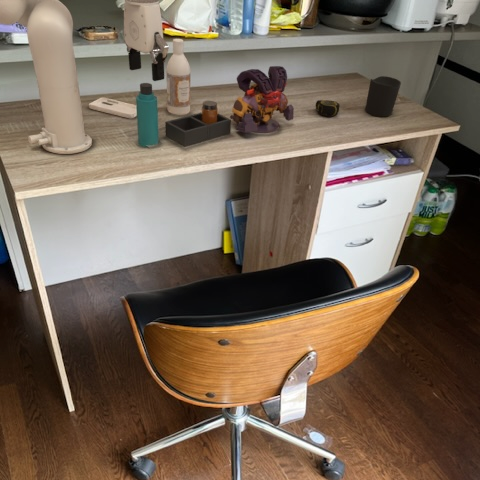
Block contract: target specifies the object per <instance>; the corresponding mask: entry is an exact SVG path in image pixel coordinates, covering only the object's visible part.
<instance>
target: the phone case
mask: <svg viewBox="0 0 480 480" xmlns="http://www.w3.org/2000/svg"><path fill="white" fill-rule="evenodd" d="M88 108H89V109H91V110H94V111H98V112H101V113H106V114H109V115H110V114H111V115H114V116H118V117H121V118H122V117H123V118H126V119H134V118H135V117H136V118H137V109H136V104H133V103H129V102H125V101H121V100H116V99H112V98H108V97H104V96H103V97H99V98H97V99H95V100H94V101H92V102H89V103H88Z"/></svg>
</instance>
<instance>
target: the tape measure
mask: <svg viewBox="0 0 480 480" xmlns="http://www.w3.org/2000/svg"><path fill="white" fill-rule="evenodd" d="M340 106H341V105H340V103H339V102H337V101H335V100H327V99H325V100H323V99H321V100H320V99H318V100H316V103H315V109H316V111H317V112H318V114H319V115H322V116H326V117H334V116H337V115H338V114H339V111H340Z"/></svg>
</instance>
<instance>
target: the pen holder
mask: <svg viewBox="0 0 480 480" xmlns="http://www.w3.org/2000/svg"><path fill="white" fill-rule="evenodd" d="M401 84H402V82H401V81H400V80H399V79H398V78H394V77H391V76H387V75H386V76H385V75H381V76H378V77H375V78H374V79H373V78H371V79H370V81H369V86H368V92H367V96H366V103H365V109H364V110H365V112H366V113H367V115H370V116H373V117H377V118H388V117H390V116H392V114H393V111H394V109H395V108H394V107H395V105H396V101H397V98H398V95H399V92H400V88H401Z"/></svg>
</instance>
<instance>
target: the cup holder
mask: <svg viewBox="0 0 480 480" xmlns="http://www.w3.org/2000/svg"><path fill="white" fill-rule="evenodd" d="M231 128H232V119H231V118H230V117H226V116H224V115H222V114H220V113H218V114H217V122H216V123H212V124H209V125H208V124H206V123H204V122H202V112H197V113H194V114H190V115H186V116H183V117H179V118H175V119H171V120H167V121H164V129H165V130H164V132H165V133H164V135H165V137H166V138H167V139H169V140H171V141H173V142H175V143H177V144H178V145H180V146H181V147H183V148H188V147H191V146H193V145H197V144H201V143H203V142H204V143H205V142H208V141H211V140H214V139H218V138H222V137H224V136H229V135H231Z"/></svg>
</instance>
